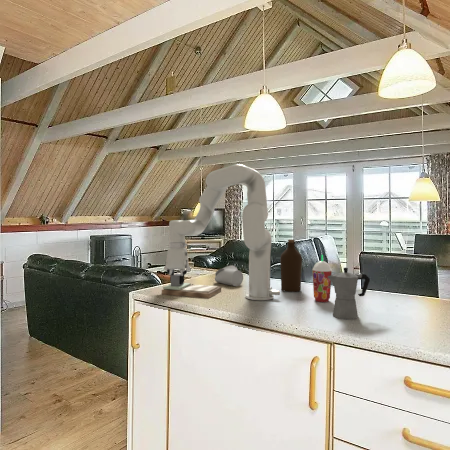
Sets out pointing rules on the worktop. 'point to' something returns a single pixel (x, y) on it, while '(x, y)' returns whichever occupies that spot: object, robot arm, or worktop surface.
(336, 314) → the coffeepot
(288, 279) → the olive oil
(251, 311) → the worktop surface
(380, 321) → the worktop surface
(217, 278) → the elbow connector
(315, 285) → the smoothie
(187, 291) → the ticket board
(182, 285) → the stub
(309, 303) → the worktop surface
